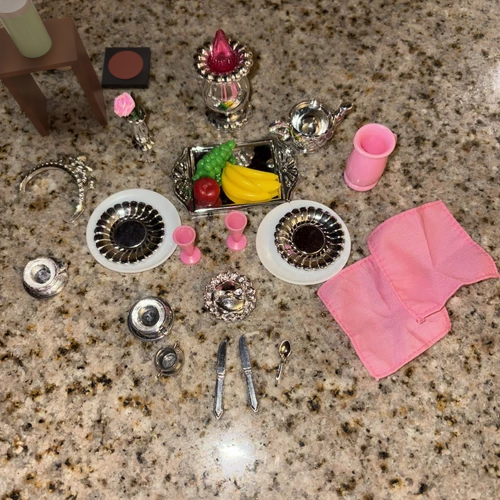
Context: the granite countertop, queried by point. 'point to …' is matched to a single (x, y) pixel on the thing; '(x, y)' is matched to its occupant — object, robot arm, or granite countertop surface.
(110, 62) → the hob
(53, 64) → the brown wooden stool
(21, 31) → the jar
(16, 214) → the granite countertop surface
